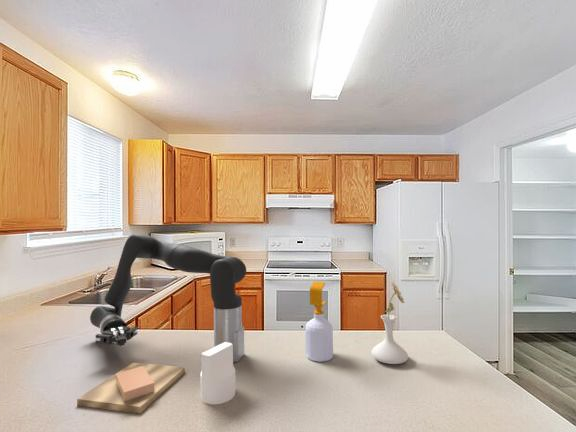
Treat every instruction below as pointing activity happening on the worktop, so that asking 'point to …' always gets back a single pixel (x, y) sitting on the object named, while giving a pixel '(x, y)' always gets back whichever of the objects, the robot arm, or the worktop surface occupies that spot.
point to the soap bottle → (318, 328)
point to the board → (112, 399)
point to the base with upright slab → (217, 374)
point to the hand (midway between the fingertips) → (122, 342)
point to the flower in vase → (390, 338)
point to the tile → (134, 383)
